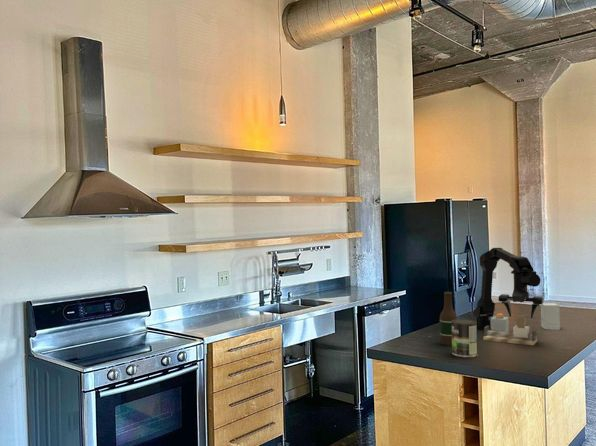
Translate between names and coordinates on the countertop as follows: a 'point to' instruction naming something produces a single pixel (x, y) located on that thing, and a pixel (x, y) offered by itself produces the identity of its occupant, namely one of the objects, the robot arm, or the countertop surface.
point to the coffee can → (464, 338)
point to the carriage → (521, 328)
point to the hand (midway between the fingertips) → (521, 317)
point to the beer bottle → (447, 320)
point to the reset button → (499, 315)
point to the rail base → (509, 337)
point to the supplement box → (550, 316)
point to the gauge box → (499, 324)
